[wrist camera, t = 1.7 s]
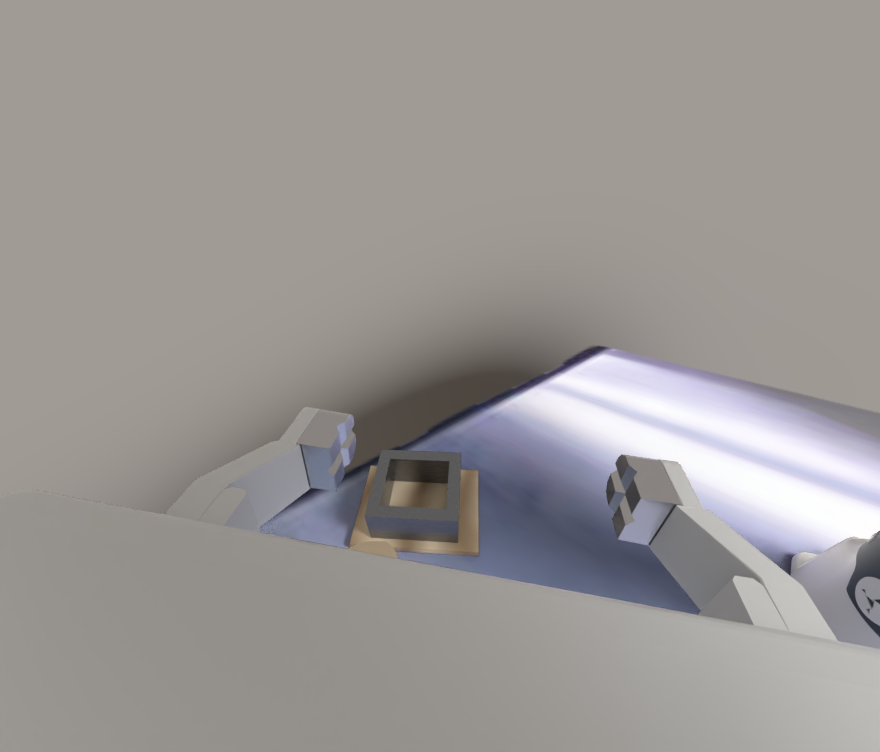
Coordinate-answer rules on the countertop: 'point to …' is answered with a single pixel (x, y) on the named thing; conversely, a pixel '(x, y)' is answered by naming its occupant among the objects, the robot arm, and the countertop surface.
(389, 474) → the square frame
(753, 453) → the countertop surface
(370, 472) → the base board
